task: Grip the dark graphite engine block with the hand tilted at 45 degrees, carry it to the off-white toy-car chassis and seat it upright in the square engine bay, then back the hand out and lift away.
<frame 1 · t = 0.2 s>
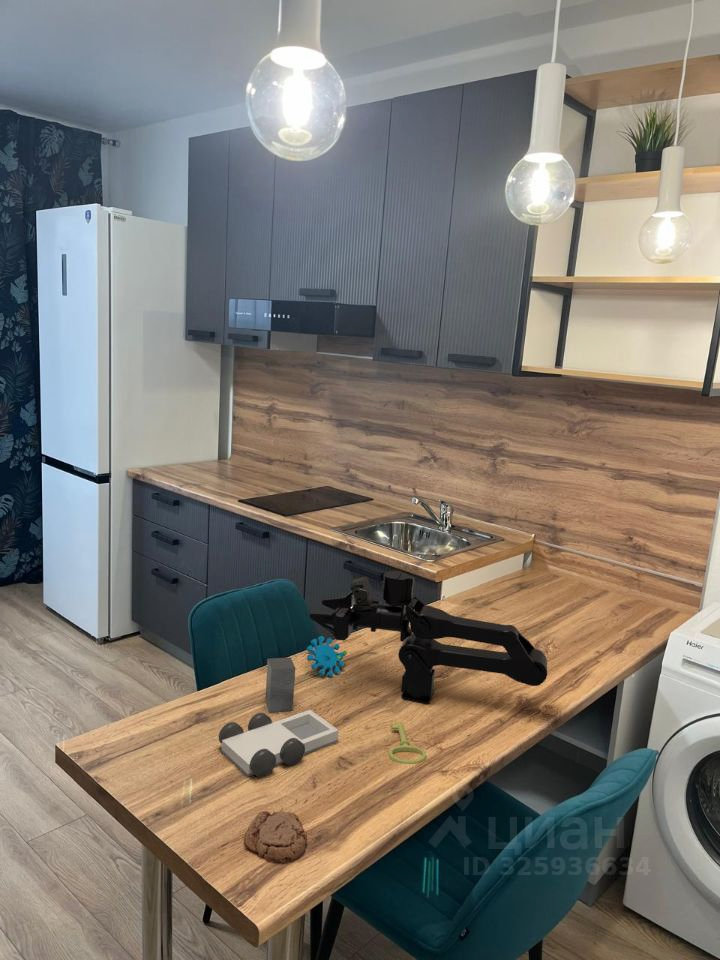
hand: (316, 608, 168), 17 cm above the breakfast bar, tool horizontal, fingers open, 9 cm apart
key: (403, 750, 144), on the breakfast bar
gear: (326, 671, 174), on the breakfast bar
cookie: (277, 842, 116), on the breakfast bar
engine block: (278, 706, 156), on the breakfast bar
chassis: (304, 738, 145), on the breakfast bar
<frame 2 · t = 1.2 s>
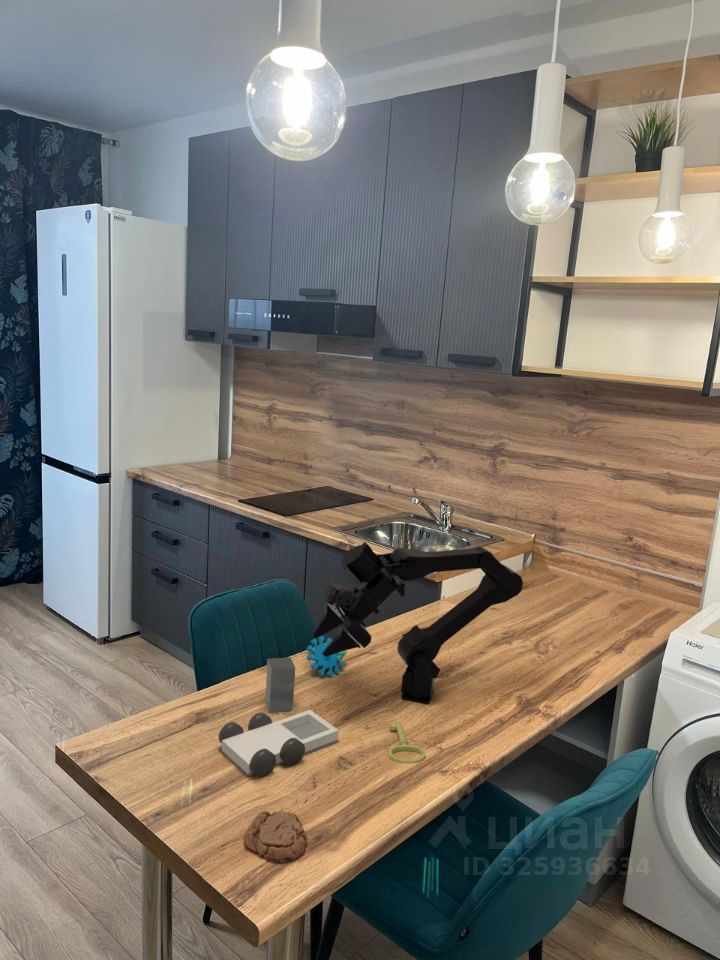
hand: (318, 645, 156), 13 cm above the breakfast bar, tool tilted 45°, fingers open, 9 cm apart
nothing on the breakfast bar moved.
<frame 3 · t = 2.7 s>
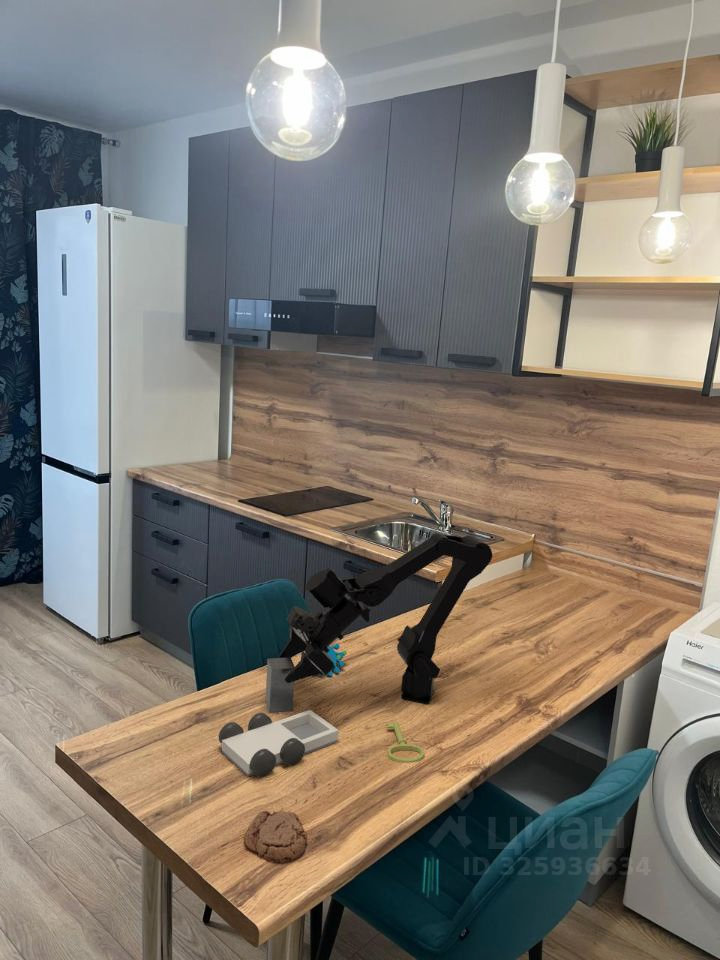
hand: (281, 671, 155), 8 cm above the breakfast bar, tool tilted 45°, fingers open, 9 cm apart
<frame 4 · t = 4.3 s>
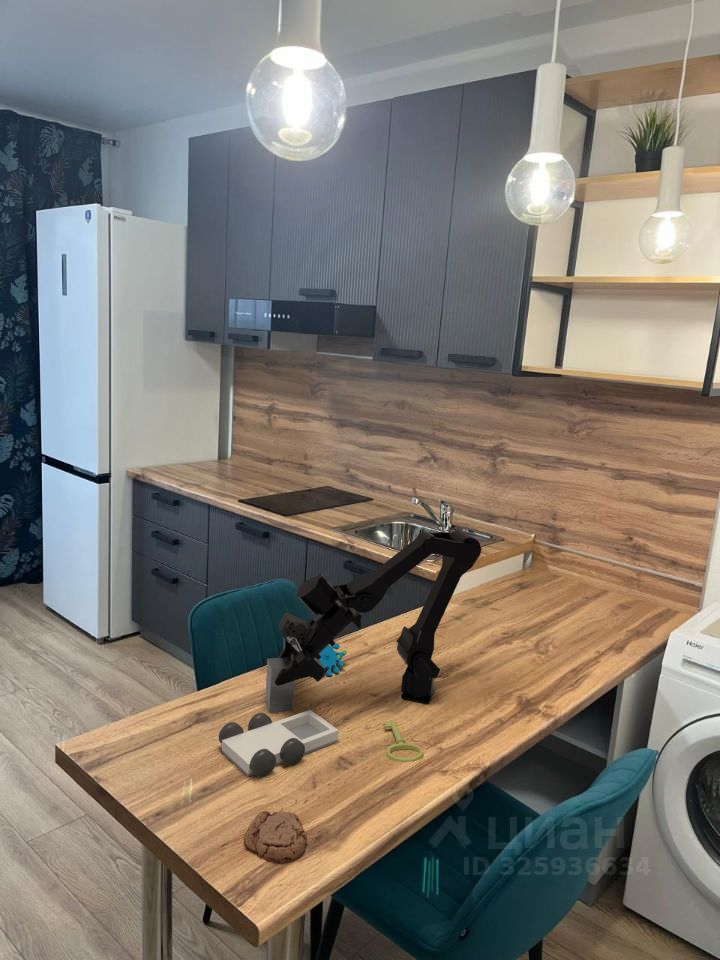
hand: (273, 678, 154), 7 cm above the breakfast bar, tool tilted 45°, fingers closed on engine block, 5 cm apart
engine block: (278, 706, 156), on the breakfast bar, touching gripper
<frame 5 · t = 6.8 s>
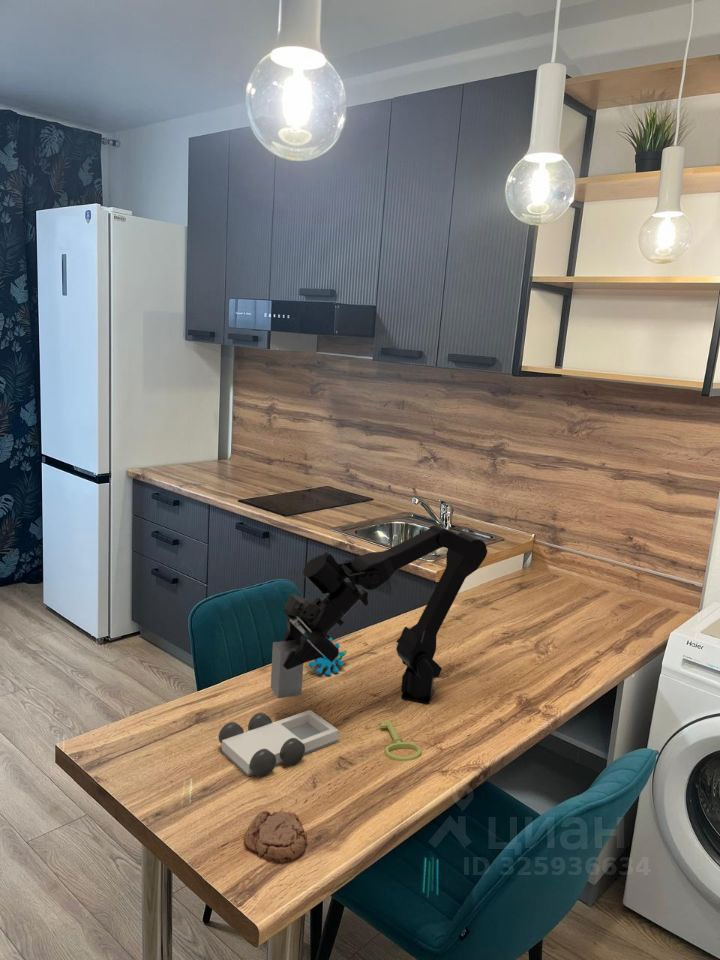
hand: (281, 662, 149), 13 cm above the breakfast bar, tool tilted 45°, fingers closed on engine block, 5 cm apart
engine block: (285, 691, 151), point 6 cm above the breakfast bar, touching gripper
when the fingers open (8 cm above the breakfast bar, at t = 9.6 s): engine block stays where it is, resting on chassis.
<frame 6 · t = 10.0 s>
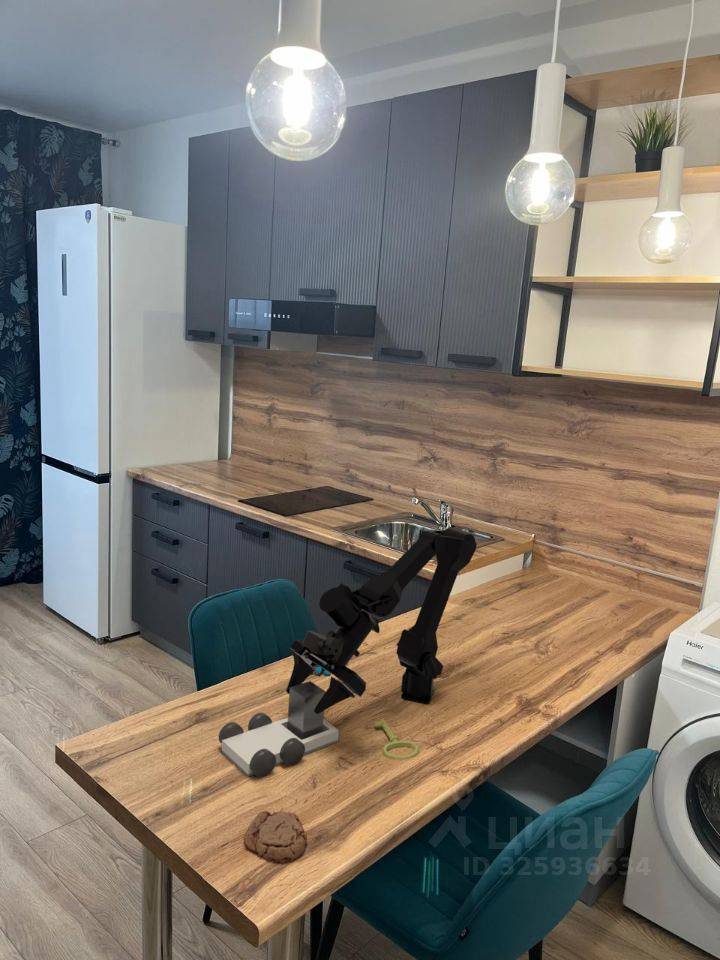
hand: (301, 702, 142), 8 cm above the breakfast bar, tool tilted 45°, fingers open, 9 cm apart
engine block: (304, 735, 145), resting on chassis
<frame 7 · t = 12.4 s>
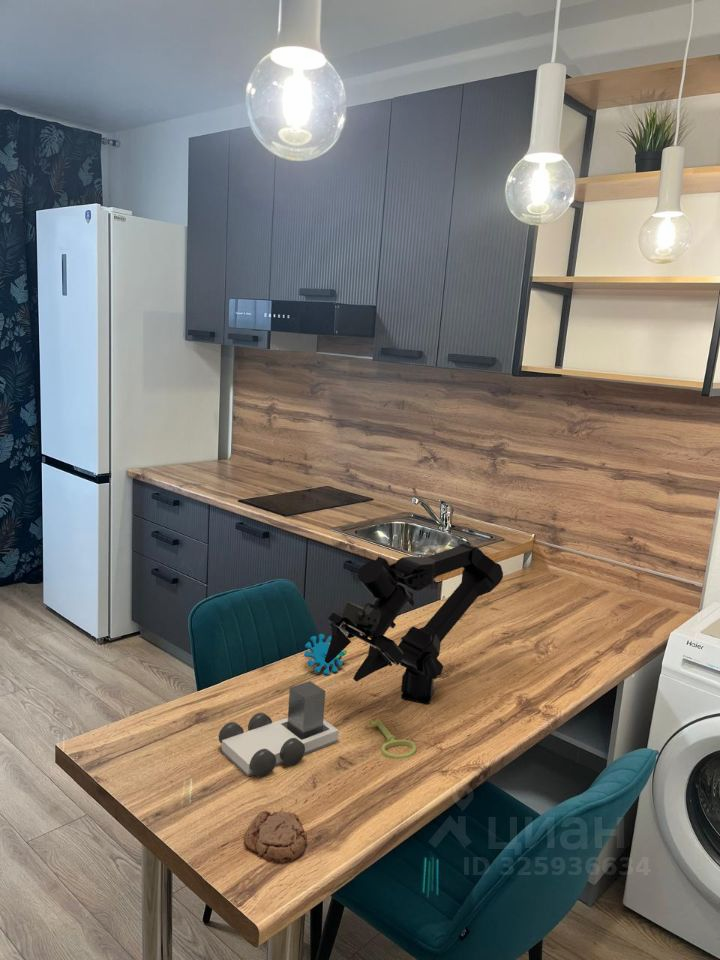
hand: (340, 671, 148), 12 cm above the breakfast bar, tool tilted 45°, fingers open, 9 cm apart
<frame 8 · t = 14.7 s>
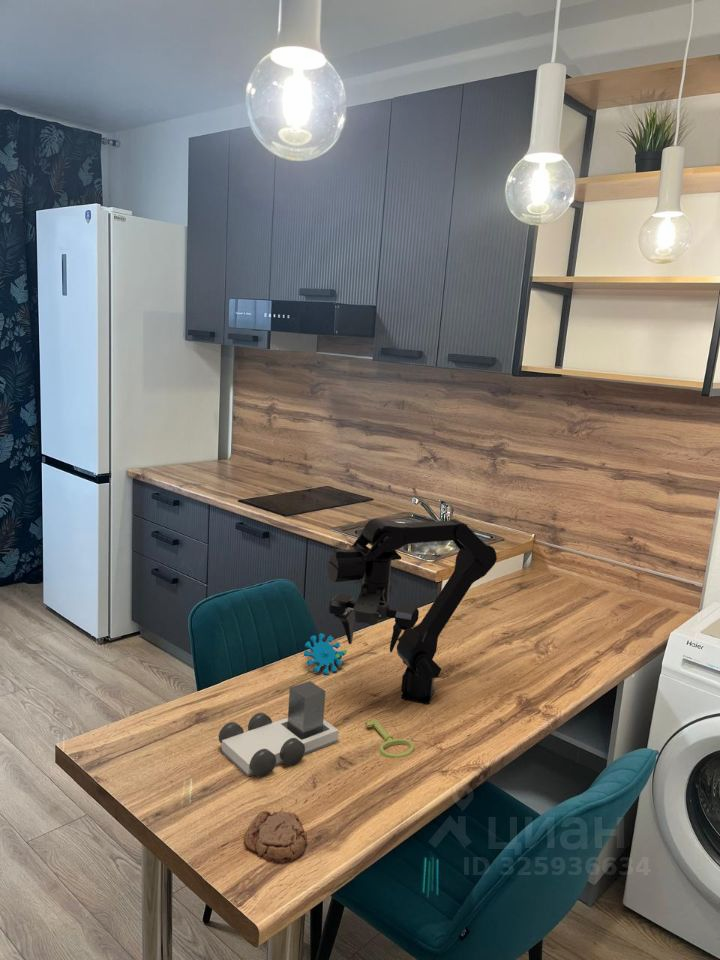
hand: (370, 647, 158), 13 cm above the breakfast bar, tool pointing down, fingers open, 9 cm apart
at the end: engine block 0.0 cm off-centre on the chassis, point 0.5 cm above the chassis's base; engine block tilted 0°; the gripper is holding nothing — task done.
